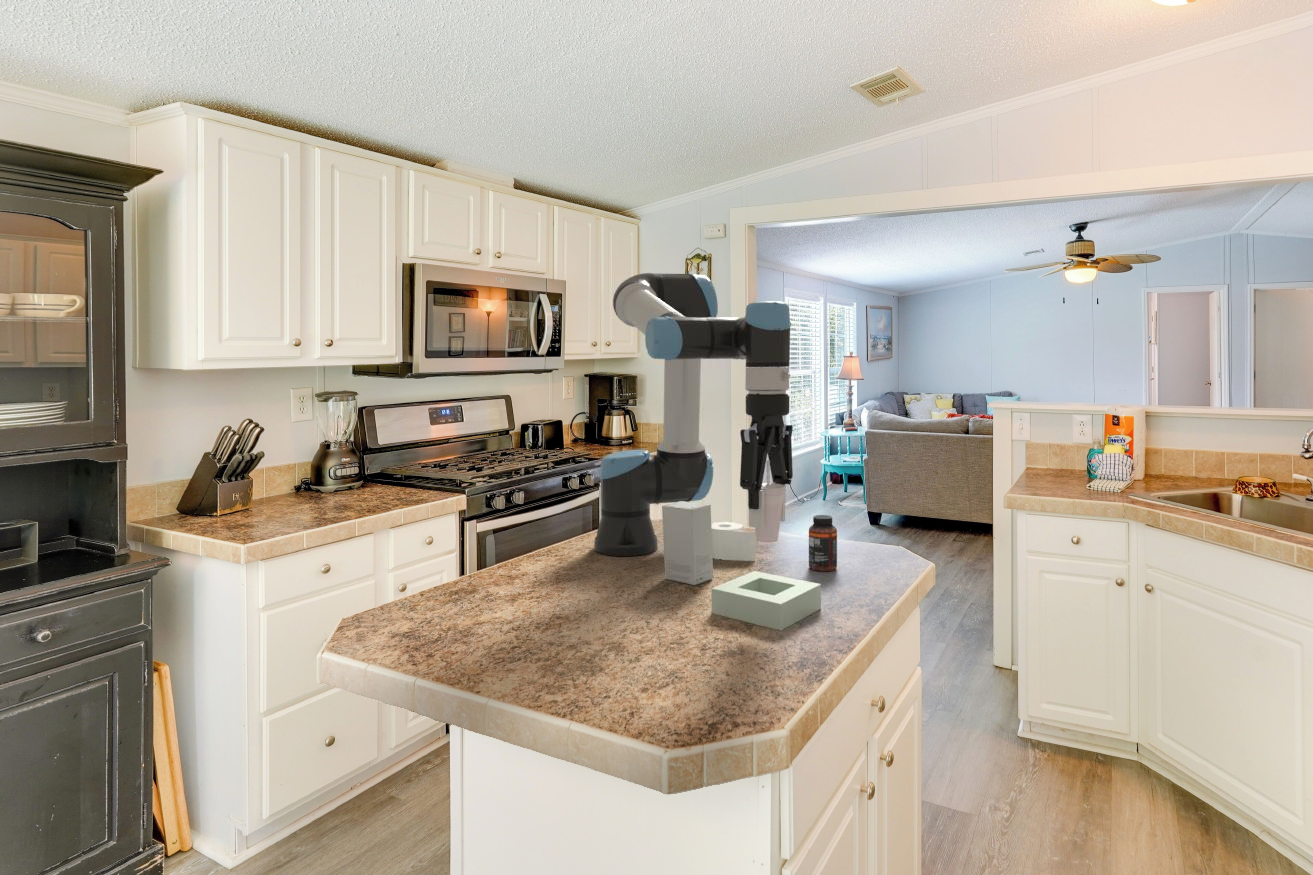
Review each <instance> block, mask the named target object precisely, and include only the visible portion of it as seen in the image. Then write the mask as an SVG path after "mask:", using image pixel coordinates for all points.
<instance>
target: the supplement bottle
mask: <svg viewBox="0 0 1313 875" xmlns="http://www.w3.org/2000/svg"><path fill="white" fill-rule="evenodd" d="M812 522H813V524H812V525H811V526H809V528H808V567H809V569H811V570H812V571H817V572H832V571H834V570H836V569H837V567H838V530H837V527H835V525H834V524H833V516H832V515H828V514H816V515H813V520H812Z"/></svg>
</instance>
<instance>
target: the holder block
mask: <svg viewBox="0 0 1313 875" xmlns="http://www.w3.org/2000/svg"><path fill="white" fill-rule="evenodd" d="M821 609H822V583H817V582H812V581H807V580H802V579H797V578H792V577H787V576H783V575H778V574H777V575H776V574H771V573H766V572H762V571H756V570H753V571H751V572H749V573H745V574H743V575H741V576H739V577H736V578H734V579H731V580H729V581H726V582H723V583H721V584H719V585H716V586H714V587H712V588H711V614H713V615H718V616H722V617H725V618H730V619H734V620H737V621H741V622H745V623H749V624H753V625H758V626H761V627H764V628H769V629H773V630H777V631H780V632H781V631H783V630H785V629H786V628H788V627H790V626H792V625H793V624H795V623H798V622H799V621H801V620H803V619H805V618H806V617H807V618H808V616H810V615H812V614H814V613H815V612H817V611H819V610H821Z"/></svg>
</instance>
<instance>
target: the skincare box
mask: <svg viewBox="0 0 1313 875" xmlns="http://www.w3.org/2000/svg"><path fill="white" fill-rule="evenodd" d="M711 507H712V505H711V504H707V503H699V502H693V501H690V502H685V501H680V502H673V503H667V504H665V505H662V506H661V513H662V532H663V533H662V534H663V535H662V536H663V539H662V540H663V557H664V558H663V559H664V579H665V580H670V581H674V582H677V583H683V584H687V585H690V586H691V585H692V586H697V585H700V584H702V583H706V582H708V581H710V580H712V579H713V578H714V565H713V564H714V563H713V558H712V531H711V523H712V510H711V509H712V508H711Z"/></svg>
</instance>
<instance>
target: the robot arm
mask: <svg viewBox="0 0 1313 875" xmlns="http://www.w3.org/2000/svg"><path fill="white" fill-rule="evenodd" d="M616 288H617V289H616V290H615V292H614V293H613V298H612V305H613V306H612V307H613V310H614V313H615V315H616V317H617V318H618V319H619V320H620V321H621V322H623V323H624V324H625V325H627V326H630V327H632V328H636V329H637V330H638V331H640V332H641V333H642V334H643V336H644V337H645V338H644V343H645V348H646V350H647V354H648V356H649V357H650V358H651V359H655V360H656V359H657V360H663V362H664V367H663V368H664V370H663V371H664V373H663V375H664V376H663V378H664V379H663V380H664V381H663V428H662V429H663V433H662V434H663V435H662V436H663V438H662V441H661V442H660V443H659V444H658V445H657V446H656V454H654V455H653V454H652V455H651V453H650V451H649V450H647V449H641V448H640V449H628V450H627V449H626V450H621V451H617V452H613V453H609V454H607V455H605V456H604V457H603V458H602V459H601V460H600V471H599V479H600V512H601V513H600V521H599V524H598V527H597V532H596V536H595V537H594V539H593V540H594V545H593V546H594V551H595V552H597V553H599V554H602V555H606V556H615V557H632V556H641V555H647V554H651V553H653V552H655V551H657V549H658V538H657V535H656V533H655V529H654V525H653V522H652V520H651V519H652V518H651V505H652V504H653V505H654V504H656V505H657V504H672V503H676V502H680V501H685V502H695V501H696V502H697V501H701V500H703V499H705V498H706V497H707V495H708V494H709V493H710V490H711V488H712V485H713V479H714V466H713V458H712V456H711V455H710V454H709V453H707V452H706V447H705V445H704V444H702V442H701V441H700V412H701V411H700V407H701V406H700V405H701V367H702V366H701V365H702V364H701V363H702V361H701V360H714V359H715V360H720V359H721V360H723V359H724V360H728V359H729V360H742V361H743V360H745V384H744V385H745V386H744V389H745V390H746V391H748V393H747V394H746V395H745V414H746V415H747V416H750V417H751V421H750V425H749V428H748V429H744V428H743V429H741V430H740V432H739V433H740V439H741V440H740V442H741V449H740V450H741V453H740V454H741V456H740V474H739V475H740V477H739V486H740V488H742V490H747V495H748V496H747V503H748V504H747V506H748V528H754V529H755V528H761V529H762V528H764V490H761V487H762V483H764V482H763V480H764V475H765V470H766V465H767V458H768V461H770V473H771V474H770V475H771V479H772V482H773V483H775V484H782V485H785V486H786V485H791V484H792V479H793V476H794V474H793V473H794V472H793V448H792V446H793V445H792V444H793V443H792V438H793V429H794V428H793V427H794V426H793V425H792V424H785V423H784V417H785V416H788V415H789V414H790V395H789V393H786V391H789V390H790V378H791V373H790V360H791V357H790V352H791V351H790V350H791V327H792V323H791V320H790V319H791V317H790V306H789V305H788V304H787V303H786V302H785V301H784V302H783V301H773V300H772V301H755V302H754V301H753V302H749V303H748V304H747V305H746V308H745V315H744V317H727V316H726V317H721V316H720V317H717V316H718V313H719V312H718V307H719V306H718V305H719V304H718V303H719V302H718V297H717V292H716V289H715V286H714V284H713V282H712V280H710V278H709V277H708V276H706V275H704V274H695V273H690V272H689V273H655V272H654V273H652V272H646V273H644V272H643V273H639V274H635V275H634V276H631V277H630V276H629V277H628V278H627V279H625V280H623V281H622V282H621V283H620V284H619V285H618V287H616ZM783 416H784V417H783ZM785 521H786V492H785V493H784V496H783V503H782V511H781V519H780V522H785Z"/></svg>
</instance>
